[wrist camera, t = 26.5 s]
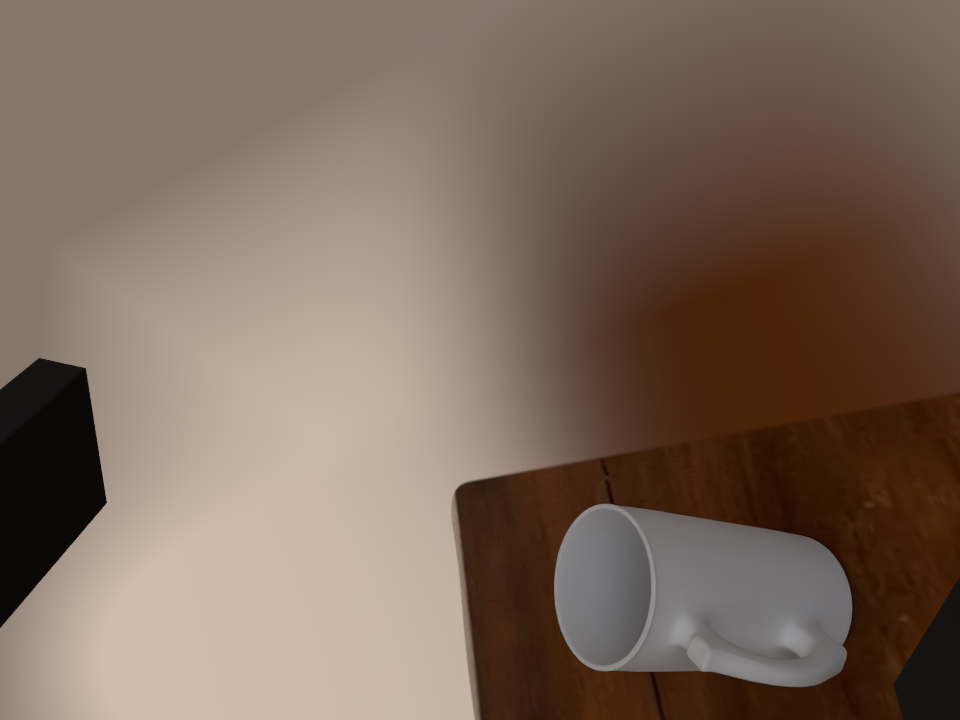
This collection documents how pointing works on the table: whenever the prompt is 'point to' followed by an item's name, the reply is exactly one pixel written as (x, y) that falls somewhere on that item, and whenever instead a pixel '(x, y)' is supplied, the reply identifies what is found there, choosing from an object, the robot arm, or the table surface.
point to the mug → (700, 598)
